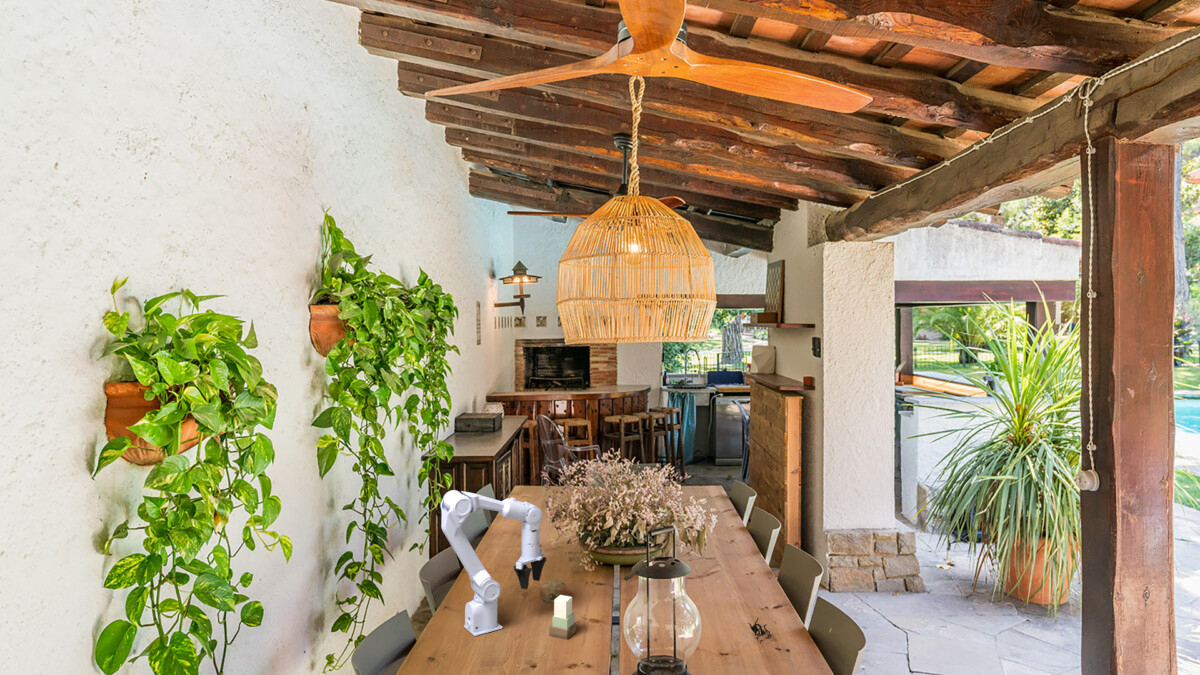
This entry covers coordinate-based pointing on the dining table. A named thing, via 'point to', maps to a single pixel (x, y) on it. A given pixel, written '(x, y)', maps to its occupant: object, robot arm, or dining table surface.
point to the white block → (563, 606)
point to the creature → (755, 629)
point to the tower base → (562, 632)
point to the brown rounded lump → (553, 590)
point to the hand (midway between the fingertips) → (530, 584)
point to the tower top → (563, 621)
